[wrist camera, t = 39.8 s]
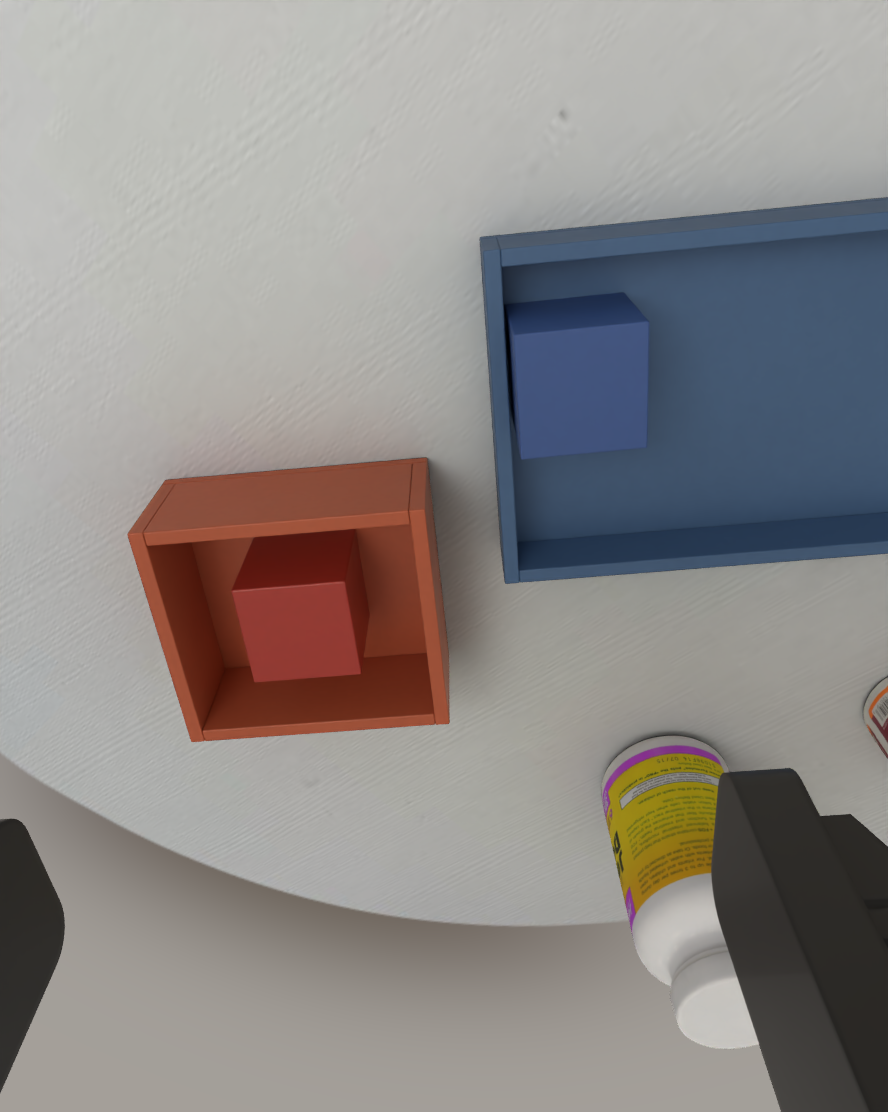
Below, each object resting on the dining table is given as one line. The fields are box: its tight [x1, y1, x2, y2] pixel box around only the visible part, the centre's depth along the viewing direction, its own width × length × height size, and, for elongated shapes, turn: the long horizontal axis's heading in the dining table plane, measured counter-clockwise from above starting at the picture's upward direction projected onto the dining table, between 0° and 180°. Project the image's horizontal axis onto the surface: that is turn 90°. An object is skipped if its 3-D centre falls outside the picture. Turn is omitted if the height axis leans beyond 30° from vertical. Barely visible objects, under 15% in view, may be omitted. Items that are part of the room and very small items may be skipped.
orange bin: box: [128, 458, 450, 742], centre depth 36 cm, size 11×10×5 cm
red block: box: [231, 529, 370, 682], centre depth 36 cm, size 4×4×4 cm
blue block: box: [505, 292, 650, 459], centre depth 31 cm, size 4×4×4 cm
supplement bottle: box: [601, 736, 759, 1049], centre depth 39 cm, size 7×7×13 cm
